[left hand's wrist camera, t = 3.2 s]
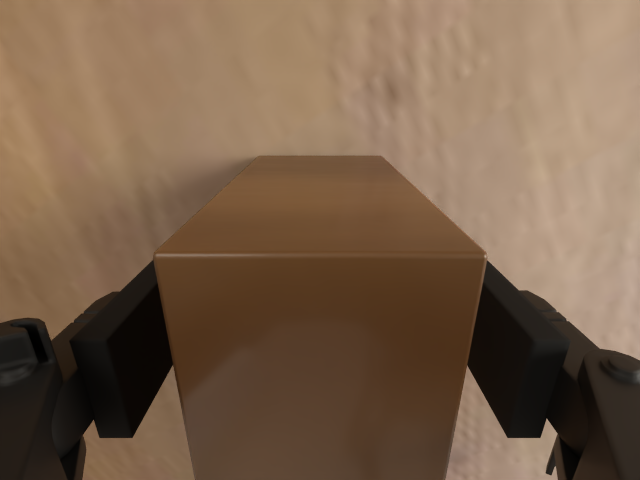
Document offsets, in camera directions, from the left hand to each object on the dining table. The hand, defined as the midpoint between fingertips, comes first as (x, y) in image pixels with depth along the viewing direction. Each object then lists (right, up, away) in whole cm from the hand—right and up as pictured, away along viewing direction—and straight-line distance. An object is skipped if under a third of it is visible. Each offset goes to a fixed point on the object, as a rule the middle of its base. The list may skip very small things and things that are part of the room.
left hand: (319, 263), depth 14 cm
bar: (0, -7, +4) cm, 8 cm away
